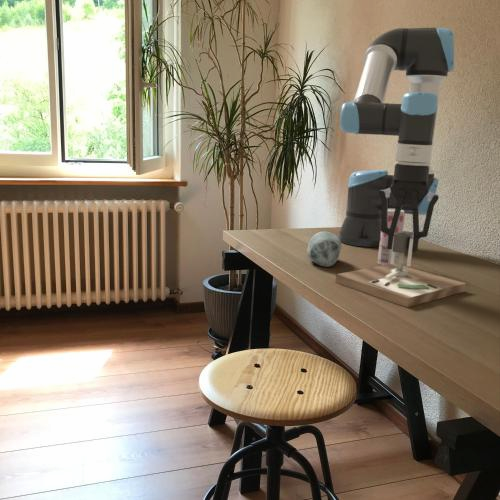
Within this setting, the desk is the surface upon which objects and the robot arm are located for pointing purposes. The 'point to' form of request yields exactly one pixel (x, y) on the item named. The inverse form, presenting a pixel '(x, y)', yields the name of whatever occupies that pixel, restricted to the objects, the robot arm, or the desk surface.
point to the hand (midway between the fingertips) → (400, 263)
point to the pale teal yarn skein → (324, 248)
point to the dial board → (401, 285)
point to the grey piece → (400, 253)
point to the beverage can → (384, 252)
